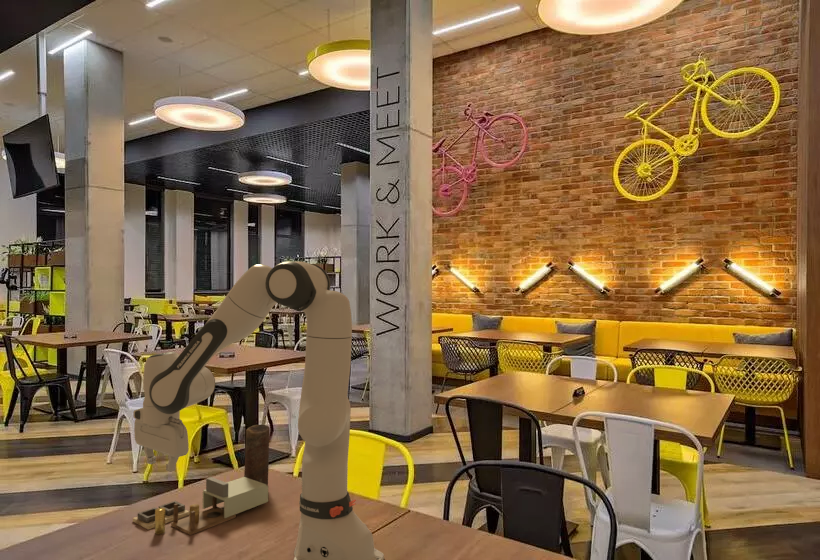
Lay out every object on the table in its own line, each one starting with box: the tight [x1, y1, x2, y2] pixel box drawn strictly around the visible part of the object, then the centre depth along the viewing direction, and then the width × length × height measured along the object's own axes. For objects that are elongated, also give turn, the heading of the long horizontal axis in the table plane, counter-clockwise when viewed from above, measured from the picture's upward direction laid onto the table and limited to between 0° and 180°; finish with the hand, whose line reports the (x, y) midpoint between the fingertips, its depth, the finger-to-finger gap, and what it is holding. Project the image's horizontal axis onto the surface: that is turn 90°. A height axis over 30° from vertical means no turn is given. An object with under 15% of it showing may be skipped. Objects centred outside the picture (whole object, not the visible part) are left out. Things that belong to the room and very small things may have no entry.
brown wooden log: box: [243, 424, 270, 487], centre depth 178 cm, size 8×7×20 cm
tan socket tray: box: [132, 500, 190, 530], centre depth 157 cm, size 8×12×2 cm, turn 143°
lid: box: [202, 476, 269, 518], centre depth 164 cm, size 11×15×9 cm
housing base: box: [170, 496, 237, 536], centre depth 156 cm, size 9×14×6 cm, turn 143°
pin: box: [154, 507, 166, 535], centre depth 149 cm, size 2×2×6 cm
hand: (160, 467), depth 149 cm, fingers open, 8 cm apart
